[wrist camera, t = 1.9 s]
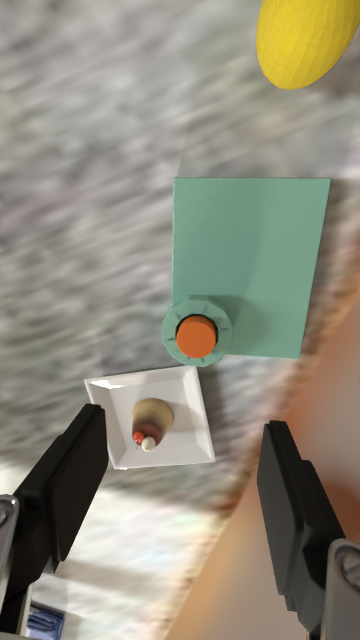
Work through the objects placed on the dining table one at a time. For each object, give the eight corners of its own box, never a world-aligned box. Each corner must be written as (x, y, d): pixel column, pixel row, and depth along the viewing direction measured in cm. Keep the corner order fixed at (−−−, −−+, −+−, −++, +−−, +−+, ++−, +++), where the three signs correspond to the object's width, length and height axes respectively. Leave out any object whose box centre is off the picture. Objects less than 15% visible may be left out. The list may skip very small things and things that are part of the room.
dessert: (88, 374, 28) (64, 400, 24) (196, 359, 27) (193, 384, 22) (117, 461, 32) (101, 499, 27) (215, 454, 30) (216, 492, 25)
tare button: (179, 314, 23) (176, 320, 21) (216, 316, 22) (217, 322, 21) (178, 348, 24) (176, 357, 22) (214, 351, 23) (214, 359, 22)
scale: (168, 180, 22) (162, 171, 19) (325, 181, 21) (343, 172, 18) (166, 350, 27) (161, 364, 24) (294, 359, 25) (305, 374, 23)
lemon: (317, -3, 18) (397, -186, 10) (336, 87, 19) (420, -13, 11) (237, 42, 19) (256, -91, 11) (261, 125, 20) (292, 55, 12)
